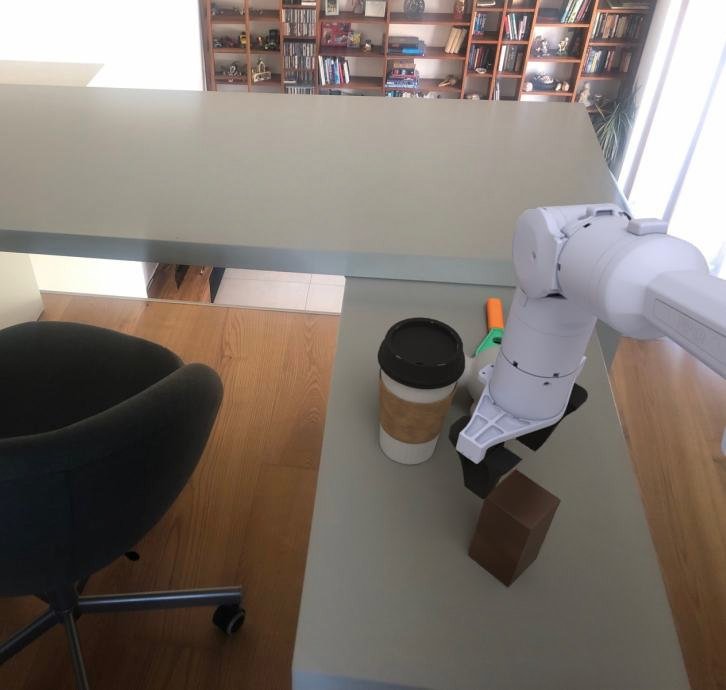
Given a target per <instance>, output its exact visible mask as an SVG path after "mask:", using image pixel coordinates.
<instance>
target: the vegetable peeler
mask: <svg viewBox="0 0 726 690" xmlns="http://www.w3.org/2000/svg"><path fill="white" fill-rule="evenodd" d="M486 313H487V315H486V316H487V328H488V334H487V335H486V337H485V338H484V339H483V340H482V342H481V344H480V345H479V346H478V348H477V349H476V351H475V354H474V357H475V356H476V355H477V354H479V353H480V352H481V351H483V350H485V349H487V348H490V347H495V346H500V345H501V341H502V337H503V334H504V330H505V324H504V315H503V305H502V300H501V299H500V298H497V297H495V298H494V297H490V298H488V299H487V300H486ZM495 342H498V343H500V344H498V343H495Z"/></svg>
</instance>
